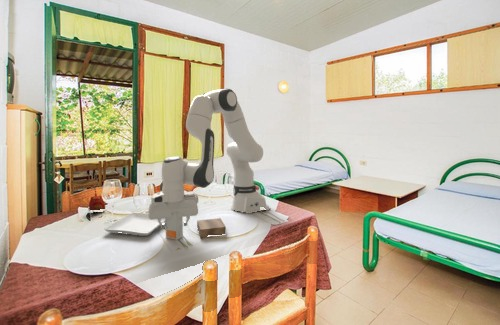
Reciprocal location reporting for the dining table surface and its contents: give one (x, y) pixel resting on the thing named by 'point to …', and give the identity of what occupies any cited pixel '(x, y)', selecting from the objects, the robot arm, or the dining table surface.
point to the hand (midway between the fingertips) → (174, 226)
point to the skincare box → (174, 226)
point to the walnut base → (210, 227)
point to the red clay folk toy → (96, 202)
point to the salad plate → (134, 224)
